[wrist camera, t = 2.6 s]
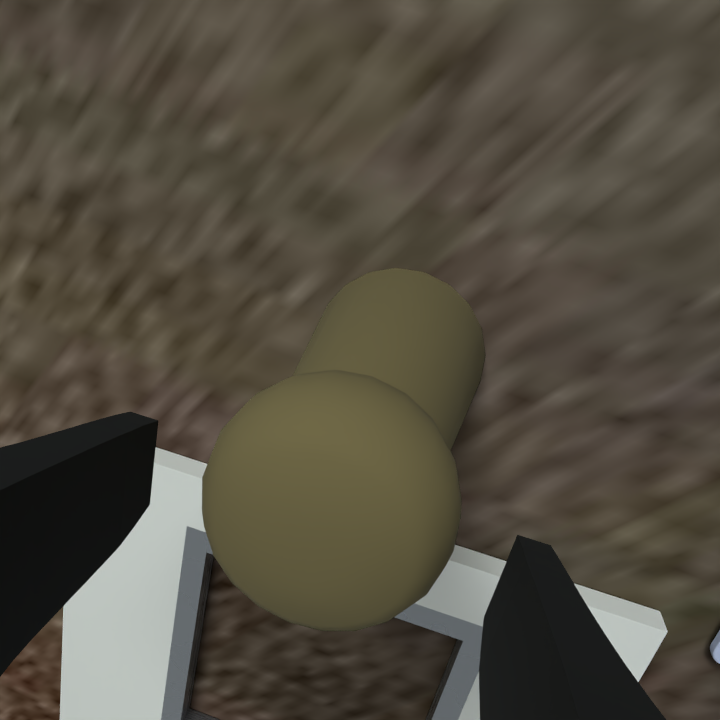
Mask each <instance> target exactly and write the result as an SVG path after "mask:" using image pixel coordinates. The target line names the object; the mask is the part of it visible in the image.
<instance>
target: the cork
mask: <svg viewBox="0 0 720 720" xmlns="http://www.w3.org/2000/svg"><path fill="white" fill-rule="evenodd" d="M484 360H485V348H484V341H483V334H482V328H481V326H480V325H479V323H478V321H477V319H476V317H475V315H474V313H473V311H472V309H471V307H470V305H469V304H468V303H467V302H466V301H465V300H464V299H463V298H462V297H461V296H460V295H459V294H458V293H457V292H456V291H455V290H454V289H453V288H452V287H451V286H450V285H449V284H447V283H445V282H443V281H441V280H439V279H437V278H435V277H433V276H431V275H429V274H427V273H425V272H420V271H413V270H406V269H400V268H393V269H387V270H381V271H375V272H369V273H367V274H365V275H363V276H361V277H359V278H358V279H356V280H354V281H352V282H350V283H348V284H346V285H345V286H344V287H343V288H342V289H341V290H340V291H339V293H338V294H337V295H336V296H335V297H334V298H333V299H332V300H331V301H330V302H329V303H328V305H327V307H326V309H325V311H324V313H323V315H322V317H321V319H320V321H319V323H318V325H317V327H316V329H315V331H314V333H313V335H312V338H311V340H310V342H309V344H308V346H307V348H306V350H305V352H304V354H303V356H302V358H301V360H300V362H299V364H298V366H297V368H296V370H295V372H294V374H293V376H292V377H290V378H287V379H285V380H283V381H281V382H279V383H277V384H275V385H273V386H271V387H269V388H267V389H265V390H263V391H261V392H259V393H257V394H256V395H255V396H254V397H253V398H252V399H251V400H249V401H248V402H247V403H246V404H245V405H244V406H243V407H242V409H241V410H240V411H239V412H238V413H237V414H236V415H235V416H234V417H233V418H232V419H231V420H230V421H229V422H228V423H227V424H226V425H225V427H224V428H223V429H222V430H221V432H220V434H219V437H218V439H217V442H216V444H215V447H214V449H213V452H212V454H211V457H210V459H209V462H208V464H207V467H206V469H205V472H204V474H203V477H202V515H203V523H204V528H205V531H206V534H207V537H208V540H209V543H210V546H211V549H212V552H213V556H214V557H215V559H216V560H217V562H218V563H219V565H220V566H221V567H222V569H223V570H224V572H225V573H226V575H227V576H228V578H229V579H230V581H231V582H232V583H233V584H234V585H235V586H236V587H237V588H238V589H239V590H240V591H242V592H243V593H244V594H245V595H246V596H247V597H248V598H250V599H251V600H252V601H253V602H254V603H255V604H256V605H257V606H259V607H261V608H263V609H265V610H267V611H268V612H270V613H272V614H274V615H276V616H278V617H280V618H282V619H284V620H285V621H287V622H290V623H294V624H298V625H301V626H305V627H309V628H313V629H317V630H321V631H357V630H361V629H364V628H367V627H371V626H374V625H378V624H381V623H385V622H387V621H389V620H390V619H392V618H394V617H395V616H397V615H398V614H400V613H401V612H403V611H404V610H406V609H407V608H408V607H410V606H411V605H413V604H414V603H416V602H417V601H418V600H420V599H421V598H423V597H424V596H426V595H427V593H428V592H429V590H430V589H431V588H432V586H433V585H434V583H435V582H436V580H437V579H438V577H439V576H440V574H441V573H442V571H443V570H444V568H445V567H446V565H447V563H448V561H449V559H450V557H451V555H452V553H453V551H454V547H455V542H456V537H457V532H458V527H459V523H460V518H461V502H462V498H461V492H460V486H459V480H458V474H457V468H456V463H455V460H454V458H453V456H452V453H451V449H452V446H453V444H454V441H455V439H456V437H457V434H458V432H459V430H460V427H461V425H462V423H463V420H464V418H465V416H466V413H467V411H468V409H469V406H470V404H471V401H472V399H473V397H474V394H475V392H476V390H477V387H478V385H479V383H480V380H481V375H482V370H483V365H484Z"/></svg>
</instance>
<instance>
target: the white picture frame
mask: <svg viewBox="0 0 720 720" xmlns="http://www.w3.org/2000/svg"><path fill="white" fill-rule="evenodd" d="M206 467H207V464H206V463H203V462H199V461H196V460H193V459H190V458H187V457H184V456H181V455H178V454H175V453H172V452H169V451H166V450H163V449H159V448H155V458H154V468H153V478H152V488H151V498H150V505H149V507H148V508H147V509H146V511H145V512H144V514H143V515H142V517H141V518H140V519H139V521H138V522H137V524H136V525H135V526H134V528H133V529H132V531H131V532H130V533H129V535H128V536H127V537H126V539H125V540H124V541H123V542H122V544H121V545H120V546H119V547H118V549H117V550H116V551H115V552H114V553H113V554H112V555H111V556H110V557H109V558H108V559H107V560H106V562H105V563H104V564H103V565H102V566H101V567H100V568H99V569H98V570H97V571H96V572H95V573H94V574H93V575H92V576H91V578H90V579H89V580H88V581H87V582H86V583H85V584H84V585H83V586H82V587H81V588H80V589H79V590H78V591H77V592H76V593H75V594H74V595H73V596H72V597H71V598H70V600H69V601H68V602H67V603H66V604H65V605H64V609H63V639H62V669H61V699H60V720H219V719H216V718H213V717H211V716H208V715H206V714H203V713H200V712H198V711H195V710H192V709H190V703H191V696H192V690H193V684H194V678H195V671H196V665H197V659H198V653H199V646H200V640H201V634H202V627H203V621H204V615H205V609H206V602H207V596H208V590H209V584H210V577H211V571H212V565H213V559H214V556H213V552H212V549H211V546H210V543H209V540H208V537H207V534H206V531H205V528H204V523H203V515H202V477H203V474H204V472H205V469H206ZM506 562H507V561H504V560H501V559H498V558H494V557H491V556H488V555H485V554H482V553H479V552H476V551H473V550H470V549H467V548H464V547H461V546H458V545H455V547H454V551H453V553H452V555H451V557H450V559H449V561H448V563H447V565H446V567H445V568H444V570H443V571H442V573H441V574H440V576H439V577H438V579H437V580H436V582H435V583H434V585H433V586H432V588H431V589H430V590H429V592H428V593H427V595H426V596H424V597H423V598H421V599H420V600H418V601H417V602H416V603H414V604H413V605H411V606H410V607H408V608H407V609H406V610H404V611H403V612H401V613H400V614H398V615H397V616H395V618H398V619H401V620H404V621H407V622H410V623H412V624H415V625H418V626H421V627H424V628H427V629H430V630H433V631H436V632H439V633H441V634H444V635H447V636H450V637H453V638H456V639H457V641H456V644H455V646H454V649H453V651H452V654H451V657H450V659H449V662H448V664H447V667H446V669H445V672H444V674H443V677H442V679H441V682H440V684H439V687H438V690H437V692H436V695H435V697H434V700H433V702H432V705H431V707H430V710H429V712H428V715H427V717H426V720H480V699H479V663H480V651H481V640H482V630H483V620H484V615H485V613H486V611H487V608H488V606H489V603H490V601H491V598H492V596H493V594H494V591H495V589H496V586H497V584H498V581H499V579H500V576H501V574H502V572H503V569H504V567H505V564H506ZM574 585H575V586H576V588H577V590H578V591H579V593H580V595H581V596H582V598H583V600H584V601H585V603H586V605H587V606H588V608H589V609H590V611H591V613H592V614H593V616H594V617H595V619H596V621H597V622H598V624H599V625H600V627H601V628H602V630H603V632H604V633H605V635H606V636H607V638H608V639H609V641H610V642H611V644H612V645H613V647H614V648H615V650H616V651H617V653H618V654H619V656H620V657H621V659H622V660H623V662H624V663H625V664H626V666H627V667H628V669H629V670H630V671H631V673H632V674H633V676H634V677H635V678H636V680H637V681H638V682H639V680H640V678H641V677H642V675H643V673H644V672H645V670H646V668H647V666H648V665H649V663H650V661H651V660H652V658H653V656H654V654H655V653H656V651H657V649H658V648H659V646H660V644H661V642H662V641H663V639H664V637H665V636H666V634H667V632H668V631H667V629H666V626H665V624H664V621H663V618H662V616H661V613H660V611H657V610H654V609H651V608H648V607H645V606H642V605H639V604H636V603H633V602H630V601H627V600H624V599H621V598H617V597H614V596H611V595H608V594H605V593H602V592H599V591H596V590H593V589H590V588H587V587H584V586H581V585H577V584H574Z"/></svg>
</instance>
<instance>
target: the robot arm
mask: <svg viewBox="0 0 720 720" xmlns="http://www.w3.org/2000/svg"><path fill="white" fill-rule="evenodd" d="M157 428H158V420H155V419H152V418H148V417H145V416H142V415H139V414H136V413H133V412H127V413H122V414H118V415H114V416H110V417H106V418H103V419H99V420H96V421H92V422H89V423H85V424H82V425H79V426H75V427H72V428H69V429H65V430H62V431H58V432H55V433H52V434H48V435H45V436H41V437H38V438H34V439H31V440H28V441H24V442H20V443H17V444H13V445H9V446H5V447H1V448H0V676H1V675H2V674H3V672H4V671H5V670H6V669H7V667H8V666H9V665H10V663H11V662H12V661H13V660H14V659H15V658H16V656H17V655H18V654H19V653H20V652H21V651H22V650H23V648H24V647H25V646H26V645H27V644H28V643H29V642H30V641H31V639H32V638H33V637H34V636H35V635H36V634H37V633H38V632H39V631H40V630H41V629H42V628H43V627H44V626H45V625H46V624H47V623H48V622H49V620H50V619H51V618H52V617H53V616H54V615H55V614H56V613H57V612H58V611H59V610H60V609H61V608H62V607H63V606H64V605H65V604H66V603H67V602H68V601H69V600H70V598H71V597H72V596H73V595H74V594H75V593H76V592H77V591H78V590H79V589H80V588H81V587H82V586H83V585H84V584H85V583H86V582H87V581H88V580H89V579H90V578H91V576H92V575H93V574H94V573H95V572H96V571H97V570H98V569H99V568H100V567H101V566H102V565H103V564H104V563H105V562H106V560H107V559H108V558H109V557H110V556H111V555H112V554H113V553H114V552H115V551H116V550H117V549H118V547H119V546H120V545H121V544H122V542H123V541H124V540H125V539H126V537H127V536H128V535H129V533H130V532H131V531H132V529H133V528H134V526H135V525H136V524H137V522H138V521H139V519H140V518H141V517H142V515H143V514H144V512H145V511H146V509H147V508H148V507H149V505H150V498H151V488H152V478H153V468H154V458H155V448H156V438H157ZM710 652H711V654H712V656H713V658H714V660H715V661H716V662H717V663H719V664H720V630H719V632H718V634H717V635H716V637H715V638H714V640H713V642H712V643H711V645H710ZM479 699H480V720H666V719H665V718H664V716H663V715H662V714H661V712H660V711H659V710H658V709H657V707H656V706H655V705H654V703H653V702H652V701H651V699H650V698H649V697H648V695H647V694H646V692H645V691H644V690H643V688H642V687H641V685H640V684H639V683H638V681H637V680H636V678H635V677H634V676H633V674H632V673H631V671H630V670H629V669H628V667H627V666H626V664H625V663H624V662H623V660H622V659H621V657H620V656H619V654H618V653H617V651H616V650H615V648H614V647H613V645H612V644H611V642H610V641H609V639H608V638H607V636H606V635H605V633H604V632H603V630H602V628H601V627H600V625H599V624H598V622H597V621H596V619H595V617H594V616H593V614H592V613H591V611H590V609H589V608H588V606H587V605H586V603H585V601H584V600H583V598H582V596H581V595H580V593H579V591H578V590H577V588H576V586H575V585H574V583H573V581H572V580H571V578H570V576H569V575H568V573H567V571H566V570H565V568H564V566H563V565H562V563H561V561H560V560H559V558H558V556H557V555H556V553H555V551H554V550H553V548H552V547H551V545H548V544H544V543H541V542H538V541H535V540H532V539H529V538H526V537H522V536H519V535H517V537H516V540H515V542H514V545H513V547H512V550H511V552H510V555H509V557H508V559H507V562H506V564H505V567H504V569H503V572H502V574H501V576H500V579H499V581H498V584H497V586H496V589H495V591H494V594H493V596H492V598H491V601H490V603H489V606H488V608H487V611H486V613H485V615H484V620H483V630H482V640H481V651H480V663H479Z"/></svg>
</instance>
